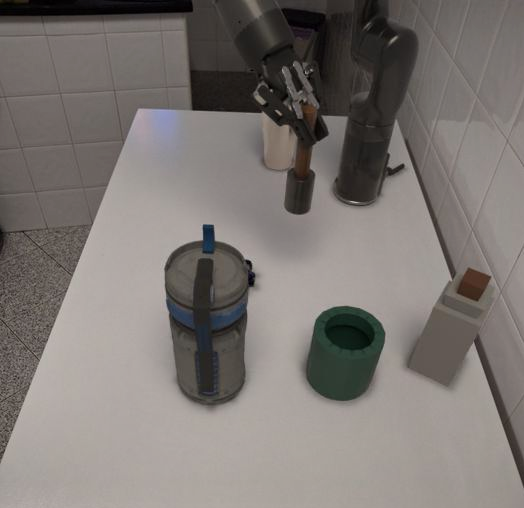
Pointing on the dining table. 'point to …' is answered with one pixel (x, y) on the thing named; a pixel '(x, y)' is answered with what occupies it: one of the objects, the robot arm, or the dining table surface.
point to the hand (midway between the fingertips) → (317, 141)
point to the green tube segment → (344, 352)
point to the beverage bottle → (208, 317)
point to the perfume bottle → (453, 326)
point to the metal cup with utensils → (281, 132)
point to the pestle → (301, 173)
